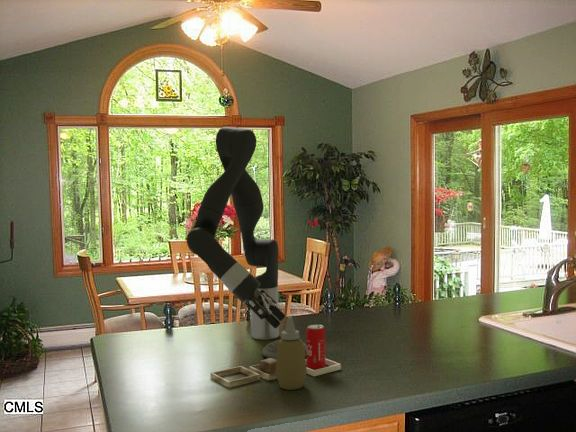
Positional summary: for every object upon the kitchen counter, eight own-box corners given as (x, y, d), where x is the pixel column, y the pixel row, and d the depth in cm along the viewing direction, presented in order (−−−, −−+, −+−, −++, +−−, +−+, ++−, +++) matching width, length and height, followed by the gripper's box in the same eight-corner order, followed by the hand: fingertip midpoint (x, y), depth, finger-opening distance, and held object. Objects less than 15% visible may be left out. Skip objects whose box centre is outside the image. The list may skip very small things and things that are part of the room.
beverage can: (323, 371, 166) (323, 329, 165) (305, 371, 167) (304, 328, 166) (326, 366, 171) (325, 324, 170) (308, 365, 172) (307, 324, 172)
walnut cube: (260, 375, 165) (259, 360, 165) (270, 371, 168) (270, 357, 167) (270, 378, 162) (270, 363, 162) (280, 374, 165) (280, 360, 165)
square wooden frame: (249, 371, 168) (248, 366, 168) (277, 364, 173) (277, 359, 173) (268, 380, 160) (268, 375, 160) (297, 373, 166) (297, 367, 165)
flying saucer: (286, 346, 193) (286, 329, 193) (321, 355, 183) (321, 337, 182) (251, 356, 183) (251, 338, 183) (286, 367, 172) (285, 348, 172)
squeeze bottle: (274, 382, 159) (273, 314, 158) (305, 380, 160) (303, 313, 158) (276, 392, 151) (275, 322, 150) (308, 391, 152) (307, 320, 150)
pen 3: (292, 367, 170) (292, 362, 170) (319, 361, 176) (319, 356, 176) (313, 376, 163) (313, 371, 162) (340, 369, 168) (340, 363, 168)
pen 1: (210, 378, 163) (210, 372, 163) (240, 371, 168) (240, 365, 168) (228, 387, 155) (228, 382, 155) (259, 379, 161) (259, 374, 161)
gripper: (243, 276, 164) (286, 319, 163) (254, 268, 178) (293, 307, 177) (225, 296, 165) (267, 338, 164) (237, 286, 179) (276, 325, 178)
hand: (280, 322), depth 170 cm, fingers open, 8 cm apart
